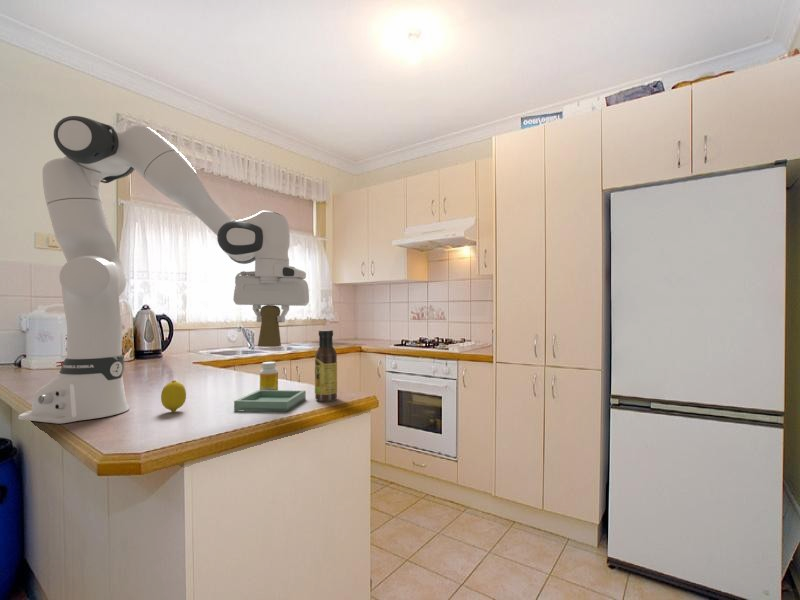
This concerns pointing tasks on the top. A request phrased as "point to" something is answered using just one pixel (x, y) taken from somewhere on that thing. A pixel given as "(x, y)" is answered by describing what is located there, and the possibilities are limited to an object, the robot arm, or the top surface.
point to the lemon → (173, 396)
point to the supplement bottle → (269, 376)
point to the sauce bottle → (325, 368)
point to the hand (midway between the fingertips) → (270, 322)
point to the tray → (270, 400)
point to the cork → (269, 327)
